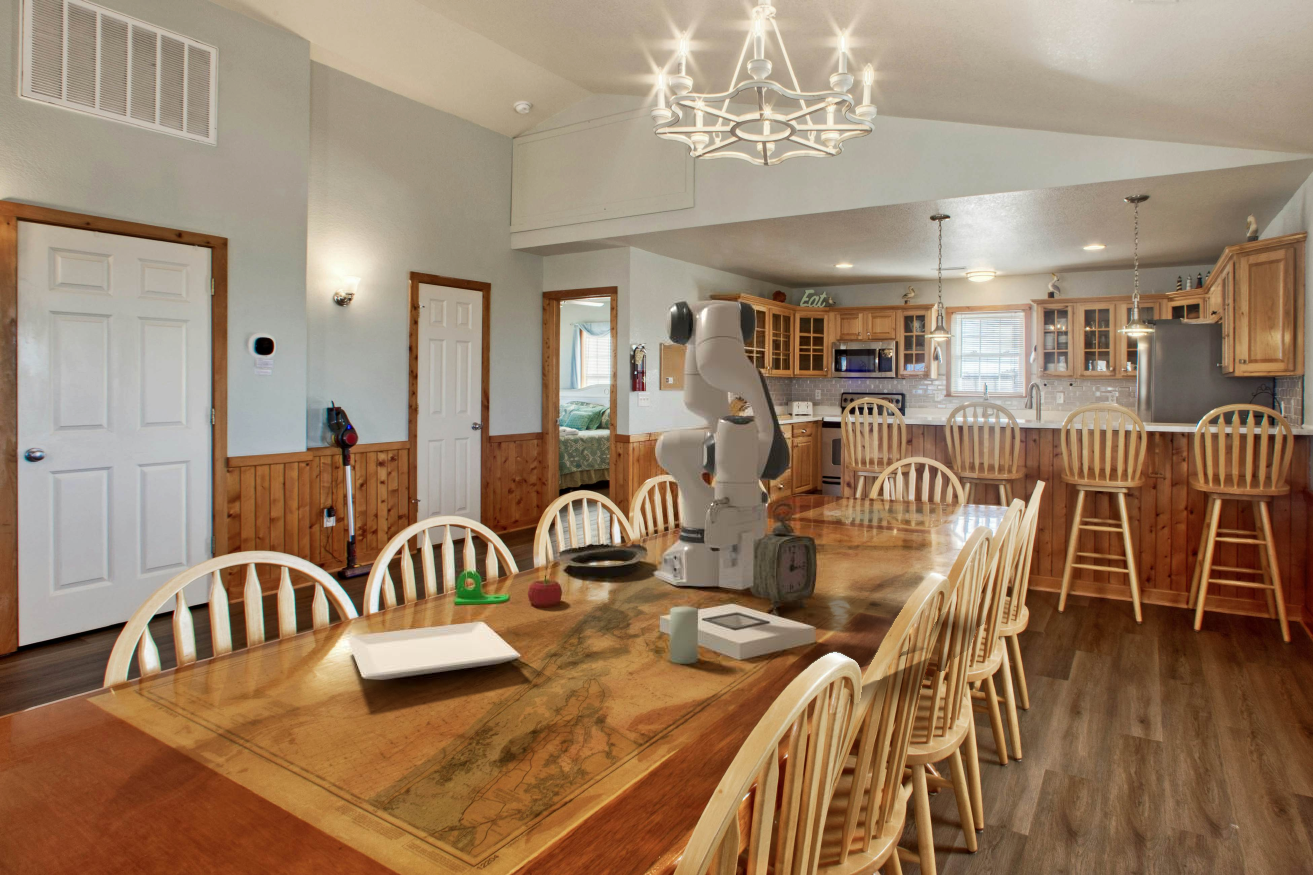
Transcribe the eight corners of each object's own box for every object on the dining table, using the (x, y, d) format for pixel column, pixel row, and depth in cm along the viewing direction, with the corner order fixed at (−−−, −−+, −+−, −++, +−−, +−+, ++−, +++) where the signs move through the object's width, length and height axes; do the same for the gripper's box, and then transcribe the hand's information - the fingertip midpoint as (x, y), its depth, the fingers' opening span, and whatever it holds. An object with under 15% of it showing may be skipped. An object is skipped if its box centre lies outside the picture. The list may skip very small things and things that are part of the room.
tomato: (565, 604, 177) (566, 572, 177) (557, 612, 169) (558, 578, 169) (532, 603, 178) (532, 571, 178) (523, 611, 170) (523, 577, 170)
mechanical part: (454, 610, 172) (454, 575, 172) (457, 604, 178) (457, 570, 178) (507, 608, 174) (507, 574, 173) (509, 602, 179) (509, 569, 179)
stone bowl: (608, 570, 223) (608, 538, 223) (668, 582, 205) (668, 548, 205) (539, 581, 205) (539, 547, 205) (598, 596, 187) (599, 558, 187)
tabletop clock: (775, 621, 163) (776, 506, 163) (744, 613, 170) (745, 503, 169) (816, 611, 172) (817, 502, 172) (785, 604, 179) (786, 499, 179)
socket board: (659, 630, 154) (659, 614, 154) (732, 617, 166) (732, 602, 166) (739, 659, 135) (739, 641, 135) (815, 642, 147) (815, 625, 147)
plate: (362, 688, 120) (362, 675, 120) (346, 646, 143) (346, 635, 143) (521, 666, 132) (521, 654, 132) (483, 630, 155) (483, 620, 155)
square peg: (719, 586, 150) (719, 531, 150) (731, 582, 154) (731, 529, 154) (741, 589, 147) (742, 533, 147) (753, 585, 151) (753, 530, 151)
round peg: (664, 658, 136) (664, 608, 136) (685, 653, 139) (686, 605, 139) (681, 665, 132) (681, 614, 132) (703, 660, 135) (703, 610, 135)
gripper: (725, 500, 140) (725, 574, 140) (772, 494, 157) (772, 560, 157) (696, 498, 143) (696, 571, 143) (745, 492, 160) (745, 557, 160)
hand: (736, 565), depth 150 cm, fingers closed on square peg, 5 cm apart
